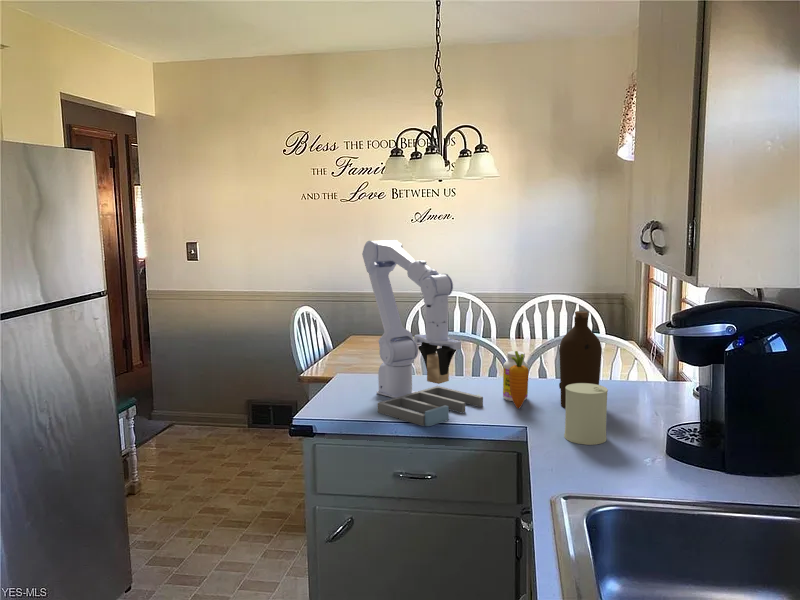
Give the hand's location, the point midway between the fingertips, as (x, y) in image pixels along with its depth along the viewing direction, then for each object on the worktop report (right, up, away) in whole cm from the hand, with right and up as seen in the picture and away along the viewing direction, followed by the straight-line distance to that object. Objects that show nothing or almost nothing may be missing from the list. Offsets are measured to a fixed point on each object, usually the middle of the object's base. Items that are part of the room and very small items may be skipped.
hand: (437, 373), depth 171 cm
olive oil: (+37, -9, +2) cm, 38 cm away
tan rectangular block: (0, -2, 0) cm, 2 cm away
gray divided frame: (-1, -10, 0) cm, 10 cm away
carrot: (+21, -9, 0) cm, 23 cm away
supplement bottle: (+22, -8, +9) cm, 25 cm away
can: (+32, -12, -23) cm, 41 cm away
